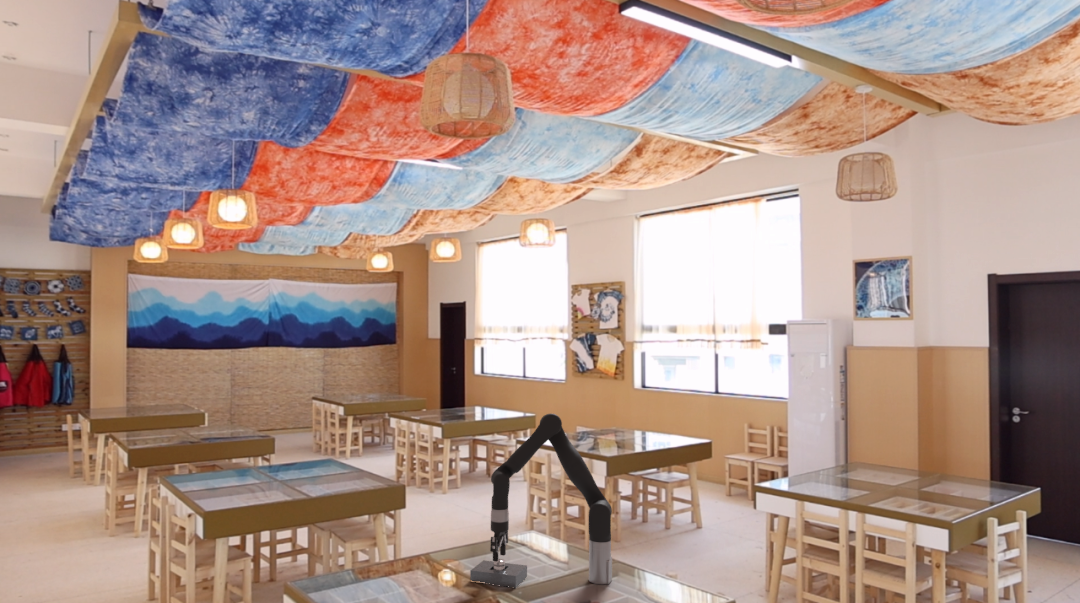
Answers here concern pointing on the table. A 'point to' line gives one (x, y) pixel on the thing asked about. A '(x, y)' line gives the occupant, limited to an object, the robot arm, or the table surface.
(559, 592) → the table surface
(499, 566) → the piston
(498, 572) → the grey block with hole
